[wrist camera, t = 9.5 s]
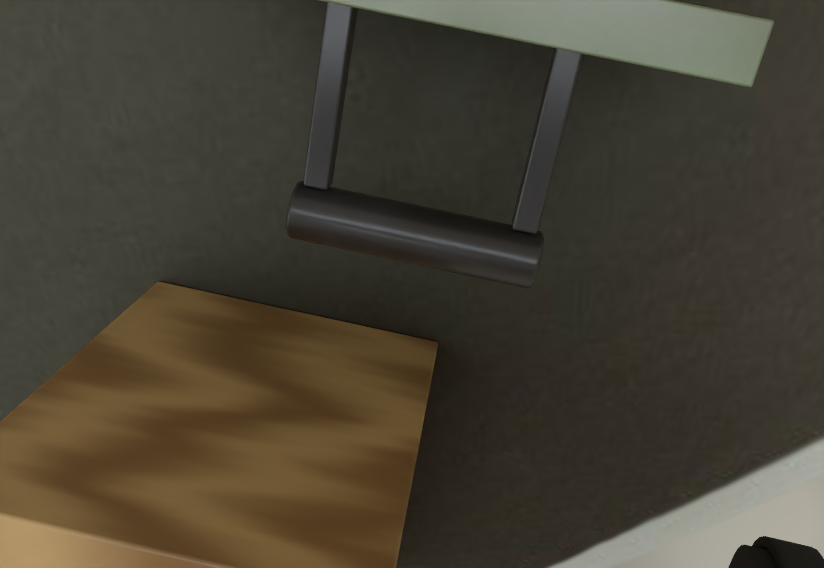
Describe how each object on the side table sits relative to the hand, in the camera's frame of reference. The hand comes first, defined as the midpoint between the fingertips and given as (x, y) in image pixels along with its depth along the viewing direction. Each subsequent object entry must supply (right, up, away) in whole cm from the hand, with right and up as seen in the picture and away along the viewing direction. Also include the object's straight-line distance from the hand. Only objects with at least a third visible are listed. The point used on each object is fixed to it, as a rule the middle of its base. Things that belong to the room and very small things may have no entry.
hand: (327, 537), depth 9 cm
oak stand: (-4, -2, +20) cm, 20 cm away
